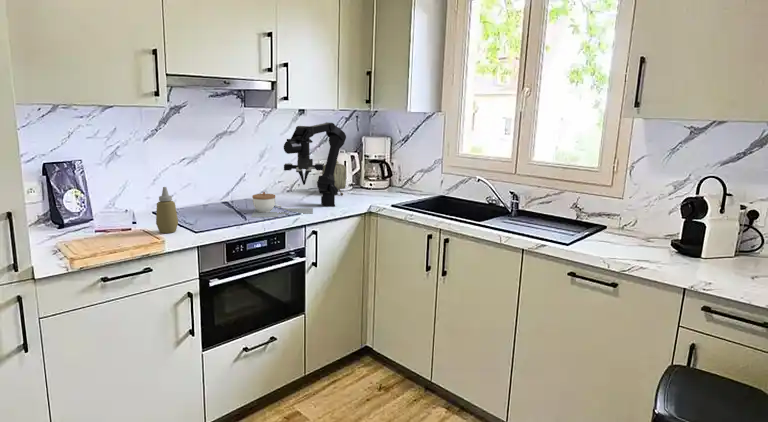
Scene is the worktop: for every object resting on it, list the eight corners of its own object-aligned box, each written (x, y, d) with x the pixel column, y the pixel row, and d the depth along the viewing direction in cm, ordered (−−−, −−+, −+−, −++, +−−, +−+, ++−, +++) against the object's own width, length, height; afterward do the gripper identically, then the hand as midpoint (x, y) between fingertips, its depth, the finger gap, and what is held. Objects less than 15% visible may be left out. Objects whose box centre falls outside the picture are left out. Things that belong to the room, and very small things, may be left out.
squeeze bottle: (174, 228, 202) (171, 184, 199) (182, 232, 197) (179, 187, 193) (153, 231, 197) (150, 186, 193) (161, 235, 191) (157, 189, 188)
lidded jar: (279, 211, 238) (279, 192, 236) (258, 214, 232) (258, 194, 230) (269, 208, 247) (269, 189, 245) (249, 210, 240) (248, 191, 238)
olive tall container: (346, 195, 287) (346, 152, 282) (331, 196, 282) (331, 153, 277) (335, 192, 299) (335, 150, 294) (321, 193, 295) (321, 150, 290)
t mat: (312, 206, 255) (312, 205, 255) (312, 217, 230) (312, 216, 230) (257, 207, 251) (257, 206, 251) (250, 218, 226) (250, 216, 226)
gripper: (282, 153, 228) (283, 187, 231) (323, 154, 231) (323, 187, 234) (284, 151, 239) (284, 183, 242) (323, 151, 241) (323, 183, 245)
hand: (304, 184), depth 240 cm, fingers closed
